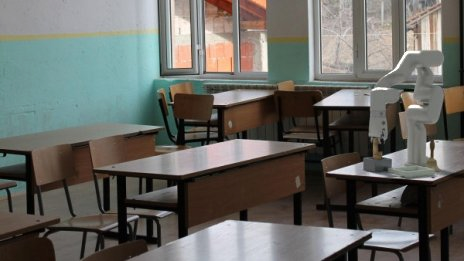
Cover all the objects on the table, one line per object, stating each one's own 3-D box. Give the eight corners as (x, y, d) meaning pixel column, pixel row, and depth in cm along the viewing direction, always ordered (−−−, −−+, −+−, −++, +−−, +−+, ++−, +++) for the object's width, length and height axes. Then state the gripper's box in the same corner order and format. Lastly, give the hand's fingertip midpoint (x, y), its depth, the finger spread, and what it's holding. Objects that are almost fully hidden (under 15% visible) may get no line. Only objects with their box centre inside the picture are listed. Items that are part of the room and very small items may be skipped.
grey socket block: (380, 170, 438) (380, 156, 437) (391, 173, 429) (391, 158, 428) (363, 171, 434) (363, 157, 433) (374, 174, 425) (374, 160, 424)
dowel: (378, 169, 434) (378, 137, 432) (383, 170, 430) (384, 138, 428) (371, 170, 432) (371, 138, 430) (376, 171, 428) (376, 139, 426)
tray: (416, 171, 433) (416, 165, 432) (434, 175, 420) (434, 169, 420) (388, 174, 425) (388, 168, 425) (405, 178, 413) (405, 171, 413)
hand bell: (421, 169, 439) (421, 138, 437) (437, 169, 440) (437, 137, 438) (426, 172, 431) (426, 140, 429) (442, 171, 431) (443, 139, 430)
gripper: (394, 115, 422) (394, 152, 424) (374, 112, 437) (374, 148, 439) (381, 115, 419) (381, 153, 421) (361, 113, 434) (361, 149, 436)
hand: (377, 150), depth 430 cm, fingers open, 5 cm apart
